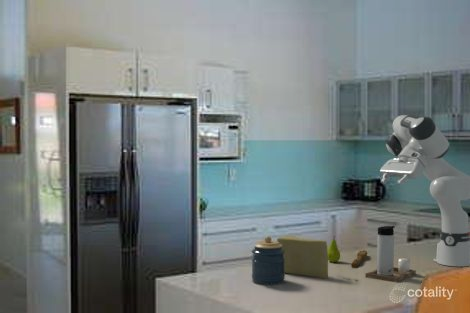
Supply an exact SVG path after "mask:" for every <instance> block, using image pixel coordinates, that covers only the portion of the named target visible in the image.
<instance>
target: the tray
mask: <svg viewBox="0 0 470 313" xmlns="http://www.w3.org/2000/svg"><path fill="white" fill-rule="evenodd" d="M416 273H417V270H416V269H410V272H407V273H405V274H402V275H399V274H398V266H393V277H389V276H383V275H377V268H376V269H374V270H372V271H368V272H365V277H364V278H368V279H374V280H380V281H385V282H392V283H398V282H401V281H403V280H405V279H407V278H410V277H413V276H415V275H417V274H416Z"/></svg>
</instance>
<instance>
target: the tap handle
mask: <svg viewBox="0 0 470 313" xmlns="http://www.w3.org/2000/svg"><path fill="white" fill-rule="evenodd" d="M356 255H357V257H356V258H355V259H354V260H353V261H352V262H351V264H350V266H351V268H352V269H358V267H359V266H360V264H361V262H362V261H365V260H366V259H367V256H368V251H367V250H366V249H365V250H359V251H358V252H357V254H356Z"/></svg>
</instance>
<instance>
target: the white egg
mask: <svg viewBox="0 0 470 313" xmlns="http://www.w3.org/2000/svg"><path fill="white" fill-rule="evenodd" d="M397 262H398V263H397V264H398V266H397V268H398V274H399V275H402V274H405V273H407V272H410V268H411V267H410V266H411V265H410V263H411V260H410V259H409V258H406V257H402V258H398V261H397Z"/></svg>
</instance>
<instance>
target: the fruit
mask: <svg viewBox="0 0 470 313" xmlns="http://www.w3.org/2000/svg"><path fill="white" fill-rule="evenodd" d="M335 237H336V235H334V236H333V239H332V241H331V242H330V245H329V246H328V247H327V252H328V262H331V263H337V262H338V261H340V259H341V252H340V251H339V249H338V248H339V247H338V245H337V241H336V239H335Z"/></svg>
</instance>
